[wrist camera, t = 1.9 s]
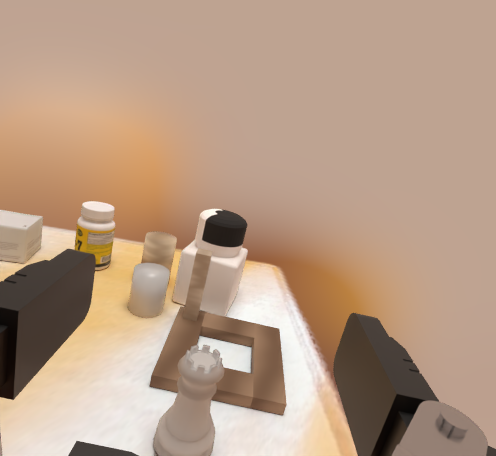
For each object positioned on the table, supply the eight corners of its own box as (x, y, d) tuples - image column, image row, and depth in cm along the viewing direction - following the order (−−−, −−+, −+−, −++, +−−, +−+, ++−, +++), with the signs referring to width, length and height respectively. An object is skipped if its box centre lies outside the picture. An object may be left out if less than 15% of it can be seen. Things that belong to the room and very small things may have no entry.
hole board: (149, 386, 32) (167, 293, 29) (178, 315, 43) (193, 244, 41) (282, 415, 32) (312, 326, 30) (276, 337, 44) (297, 268, 41)
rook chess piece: (198, 414, 30) (218, 332, 28) (222, 461, 27) (247, 372, 24) (144, 429, 28) (162, 340, 25) (163, 483, 24) (186, 385, 22)
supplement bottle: (72, 255, 51) (78, 198, 49) (108, 256, 53) (115, 202, 51) (73, 271, 47) (79, 209, 45) (111, 271, 49) (119, 213, 47)
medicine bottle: (237, 294, 52) (257, 215, 48) (224, 319, 45) (247, 228, 42) (190, 280, 53) (206, 201, 49) (170, 301, 46) (188, 211, 42)
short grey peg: (122, 313, 41) (129, 273, 40) (134, 296, 45) (140, 259, 44) (157, 321, 41) (164, 281, 40) (166, 303, 45) (173, 267, 44)
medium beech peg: (134, 284, 48) (141, 238, 46) (143, 271, 52) (150, 229, 50) (164, 291, 48) (172, 245, 46) (171, 278, 52) (179, 236, 50)
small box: (41, 248, 51) (44, 215, 50) (24, 265, 46) (26, 229, 45) (-3, 241, 50) (-2, 207, 49) (-26, 258, 45) (-26, 220, 43)
